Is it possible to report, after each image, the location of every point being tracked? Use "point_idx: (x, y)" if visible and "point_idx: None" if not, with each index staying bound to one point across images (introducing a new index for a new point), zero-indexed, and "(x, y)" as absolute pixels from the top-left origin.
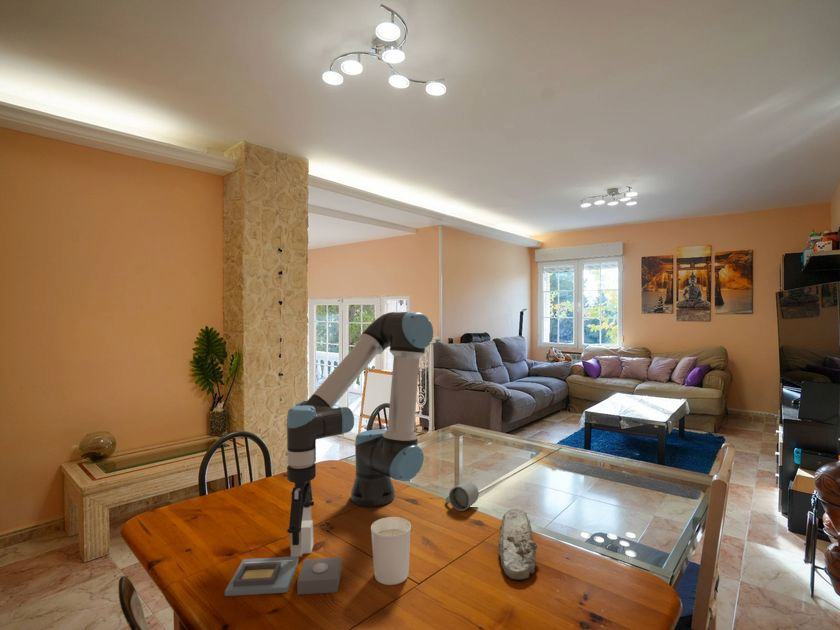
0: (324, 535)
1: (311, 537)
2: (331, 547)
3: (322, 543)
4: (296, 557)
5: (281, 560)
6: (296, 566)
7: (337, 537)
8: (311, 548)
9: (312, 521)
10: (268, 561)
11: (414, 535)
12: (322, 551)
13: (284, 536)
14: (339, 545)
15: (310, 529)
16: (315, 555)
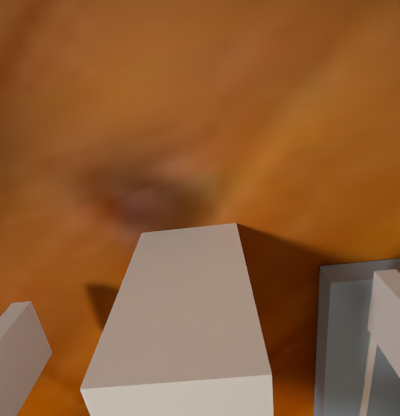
0: (3, 195)
1: (205, 277)
2: (158, 99)
3: (111, 181)
4: (345, 290)
5: (360, 351)
6: (388, 261)
7: (4, 87)
8: (210, 233)
9: (115, 387)
10: (363, 399)
11: None
12: (216, 153)
13: (71, 390)
14: (122, 35)
15: (265, 349)
16: (265, 187)
